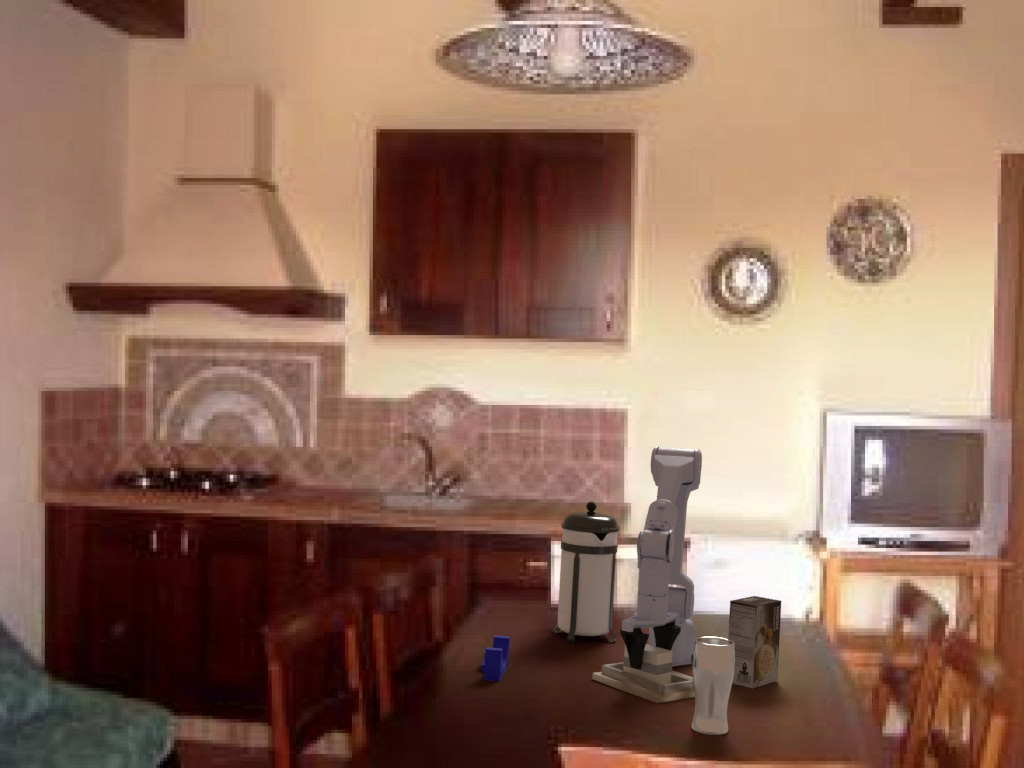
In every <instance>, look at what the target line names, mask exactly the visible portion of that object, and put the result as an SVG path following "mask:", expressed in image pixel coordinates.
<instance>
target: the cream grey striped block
mask: <svg viewBox="0 0 1024 768" xmlns="http://www.w3.org/2000/svg"><path fill="white" fill-rule="evenodd" d="M672 655H673V651H670V650H666V649H663V648H659V647H655V646H651V645H649V644H647V643H646V645H645V649H644V654H643V663H642V667H641V669H635V668H631V667H630V661H629V656H628V652H627V648H626V645H625V644H624V654H623V662H624V663H623V666H624V670H623V671H625V672H628V673H630V674H633V675H636V676H639V677H642V678H645V679H648V680H650V681H653V682H656V683H659V684H662V685H664V684H668V683H671V672H672V671H673V667H672Z"/></svg>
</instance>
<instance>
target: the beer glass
mask: <svg viewBox="0 0 1024 768" xmlns="http://www.w3.org/2000/svg"><path fill="white" fill-rule="evenodd" d="M734 644H735V643H734V642H733V641H732V640H729V639H728V638H725V637H718V636H700V637H696V639H695V647H694V654H693V664H692V669H691V670H692V673H691V674H692V677H693V685H694V694H695V697H694V714H693V717H692V722H691V729H692V730H693V731H694V732H696V733H700V734H702V735H709V736H721V735H725V734H727V733H728V732H729V723H728V705H729V699H730V696H731V691H732V686H733V684H732V683H733V677H734V668H735V649H734Z"/></svg>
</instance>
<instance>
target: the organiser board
mask: <svg viewBox="0 0 1024 768" xmlns="http://www.w3.org/2000/svg"><path fill="white" fill-rule="evenodd" d="M623 663H624V661H622V662H616V663H607V664H602V665H601V671H599V672H598V671H597V672H596V671H595V672H592V678H591V679H592V680H593V681H595V682H599V683H601V684H605V685H607V686H610V687H612V688H615V689H617V690H621V691H623V692H625V693H629V694H632V695H634V696H637V697H640V698H641V699H645V700H648V701H650V702H653V703H655V704H660V703H666V702H667V703H668V702H672V701H677V700H684V699H691V698H695V694H694V685H693V676H689V675H687V674H684V673H681V672H678V671H674V670H672V672H671V683H668V684H664V685H662V684H659V683H656V682H653V681H650V680H648V679H645V678H642V677H639V676H636V675H633V674H630V673H628V672H625V671H623V670H624V666H623ZM690 665H693V654H691V664H690Z"/></svg>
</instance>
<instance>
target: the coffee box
mask: <svg viewBox="0 0 1024 768" xmlns="http://www.w3.org/2000/svg"><path fill="white" fill-rule="evenodd" d="M729 601H730V602H729V603H730V604H729V618H728V619H729V620H728V638H727V639H729V640H732V641H733V642H734V643H735V644H734V649H735V668H734V677H733V683H732V685H733V684H734V685H737V686H742V687H745V688H749V689H752V690H753V689H756V688H759V687H762V686H763V687H764V686H766V685H769V684H772V683H775V682H777V681H778V677H779V676H778V674H779V671H778V670H779V656H780V653H779V652H780V639H781V637H780V636H781V634H780V633H781V613H782V612H781V611H782V601H783V600H779V599H773V598H768V597H762V596H756V595H753V596H748V597H742V598H738V599H737V598H736V599H732V600H729Z"/></svg>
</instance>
